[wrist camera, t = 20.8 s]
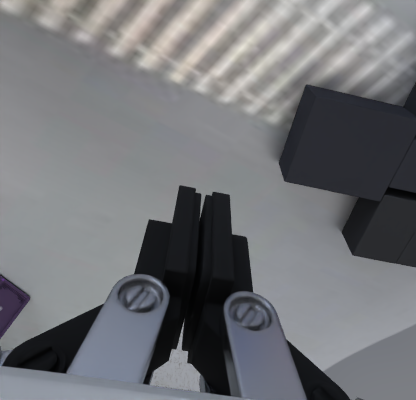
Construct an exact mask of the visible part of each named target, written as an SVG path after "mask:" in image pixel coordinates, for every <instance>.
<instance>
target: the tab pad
mask: <svg viewBox="0 0 416 400" xmlns="http://www.w3.org/2000/svg"><path fill="white" fill-rule="evenodd" d="M279 165H280V168H281V171H282V175H283V178H284V181H285V182H290V183H294V184H299V185H304V186H309V187H313V188H318V189H323V190H328V191H332V192H337V193H342V194H347V195H351V196H356V197H361V198H366V199H370V200H375V201H381V199H382V197H383V195H384V193H385V191H386V190H387V188H388V187H391V188H395V189H400V190H405V191H409V192H414V193H416V116H415V115H414V114H412V113H411V112H409V111H408V110H406V109H405V108H403V107H401V106H397V105H392V104H388V103H384V102H379V101H375V100H371V99H367V98H362V97H358V96H354V95H349V94H345V93H341V92H337V91H332V90H328V89H324V88H319V87H315V86H311V85H306V86H305V89H304V92H303V95H302V98H301V101H300V103H299V106H298V109H297V112H296V115H295V118H294V121H293V124H292V127H291V130H290V132H289V135H288V138H287V141H286V144H285V147H284V150H283V153H282V156H281V158H280V161H279Z"/></svg>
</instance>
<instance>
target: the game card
mask: <svg viewBox="0 0 416 400" xmlns="http://www.w3.org/2000/svg"><path fill="white" fill-rule="evenodd" d="M29 300H30V297H29V296H28V295H26V294H25V293H24V292H22V291H21V290H19V289H18V288H17V287H15V286H14V285H13V284H11V283H10V282H9V281H7V280H6V279H4V278H3V277H2V276H0V339H1V337H2V336H3V335H4V333H5V332H6V331H7V329H8V328H9V327H10V325H11V324H12V323H13V321H14V320H15V319H16V317H17V316H18V315H19V313H20V312H21V311H22V309H23V308H24V307H25V305H26V304H27V303H28V301H29Z"/></svg>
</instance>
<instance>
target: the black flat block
mask: <svg viewBox="0 0 416 400" xmlns="http://www.w3.org/2000/svg"><path fill="white" fill-rule="evenodd" d="M403 108H405V109H406V110H408V111H409V112H411V113H412V114H414V115H415V116H416V83H415V85H414V87H413V89H412V91H411V93H410V95H409V97H408V99H407V101H406V103H405V105H404V107H403ZM342 234H343V236H344V238H345V240H346V243H347V245H348V247H349V249H350V251H351V253H352V255H354V256H359V257H364V258H369V259H374V260H380V261H385V262H390V263H396V264H401V265H406V266H412V267H416V193H414V192H409V191H405V190H400V189H395V188H391V187H388V188H387V190H386V191H385V193H384V195H383V197H382V199H381V201H375V200H370V199H366V198H361V197H359V199H358V201H357V203H356V205H355V207H354V209H353V211H352V213H351V215H350V217H349V219H348V221H347V223H346V225H345V227H344V229H343V231H342Z"/></svg>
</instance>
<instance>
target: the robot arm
mask: <svg viewBox="0 0 416 400" xmlns="http://www.w3.org/2000/svg"><path fill="white" fill-rule="evenodd" d="M195 191H196V188H191V187H186V186H181V185H180V186H179V191H178V196H177V201H176V206H175V211H174V217H173V222H172V223H167V222H161V221H155V220H150V219H149V221H148V225H147V228H146V232H145V236H144V240H143V243H142V247H141V251H140V254H139V258H138V262H137V265H136V269H135V273H134V274H133V275H129V276H126V277H124V278H122V279H121V280H119V281H118V282H117V283H116V284H115V286H114V287H113V289H112V290H111V292H110V294H109V296H108V298H107V299H106V301H105V303H104V304H102V305H100V306H98V307H96V308H94V309H92V310H90V311H88V312H85V313H83V314H81V315H79V316H77V317H75V318H73V319H71V320H69V321H67V322H65V323H63V324H61V325H59V326H56V327H54V328H52V329H50V330H48V331H46V332H44V333H42V334H40V335H38V336H36V337H34V338H32V339H30V340H27V341H25V342H24V343H22V344H21V345H19V346H17V347H16V348H15V349H14V350H6V351H1V346H0V400H350V399H349V397H348V396H347V394H346V393H345V392H344V391H343V390H342V389H341V388H340V387H339V386H338V385H337V384H336V383H335V382H333V381H332V380H331V379H330V378H329V377H328V376H327V375H326V374H325V373H323V372H322V371H321V370H320V369H319V368H318V367H317V366H316V365H314V364H313V363H312V362H311V361H310V360H309V359H308V358H307V357H305V356H304V355H303V354H302V353H301V352H300V351H299V350H298V349H297V348H295V347H294V346H293V345H292V344H291V343H290V342H289V341H288V340H286V338H285V335H284V332H283V329H282V326H281V323H280V320H279V318H278V315H277V312H276V310H275V309H274V307H273V306H272V304H271V303H270V302H269V301H268V300H266V299H265V298H263V297H262V296H260V295H258V294H255V293H253V287H252V278H251V269H250V260H249V251H248V242H247V238H246V237H244V236H239V235H233V234H232V228H231V210H230V195H228V194H223V193H218V192H213V193H212V196H210V195H206V197H205V200H204V205H203V209H202V213H201V217H200V206H201V194H200V193H195ZM199 220H200V221H199ZM184 318H185V319H184ZM183 322H184V330H183V340H182V350H183V351H188V361H187V363H190V364H192V365H193V366H194V367H195V368H196V370H197V371H198V372H199V373H200V374H201V375H200V381H199V385H200V392H196V391H188V390H181V389H174V388H167V387H159V386H152V385H150V383H151V380H152V377H153V372H154V370H156V369H157V368H159V367H160V366H162V365H163V364H164V363H166V362H167V361H169V357H170V353H171V349H177V345H178V341H179V337H180V333H181V329H182V326H183ZM356 400H363V399H360V398H357V399H356Z"/></svg>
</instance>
